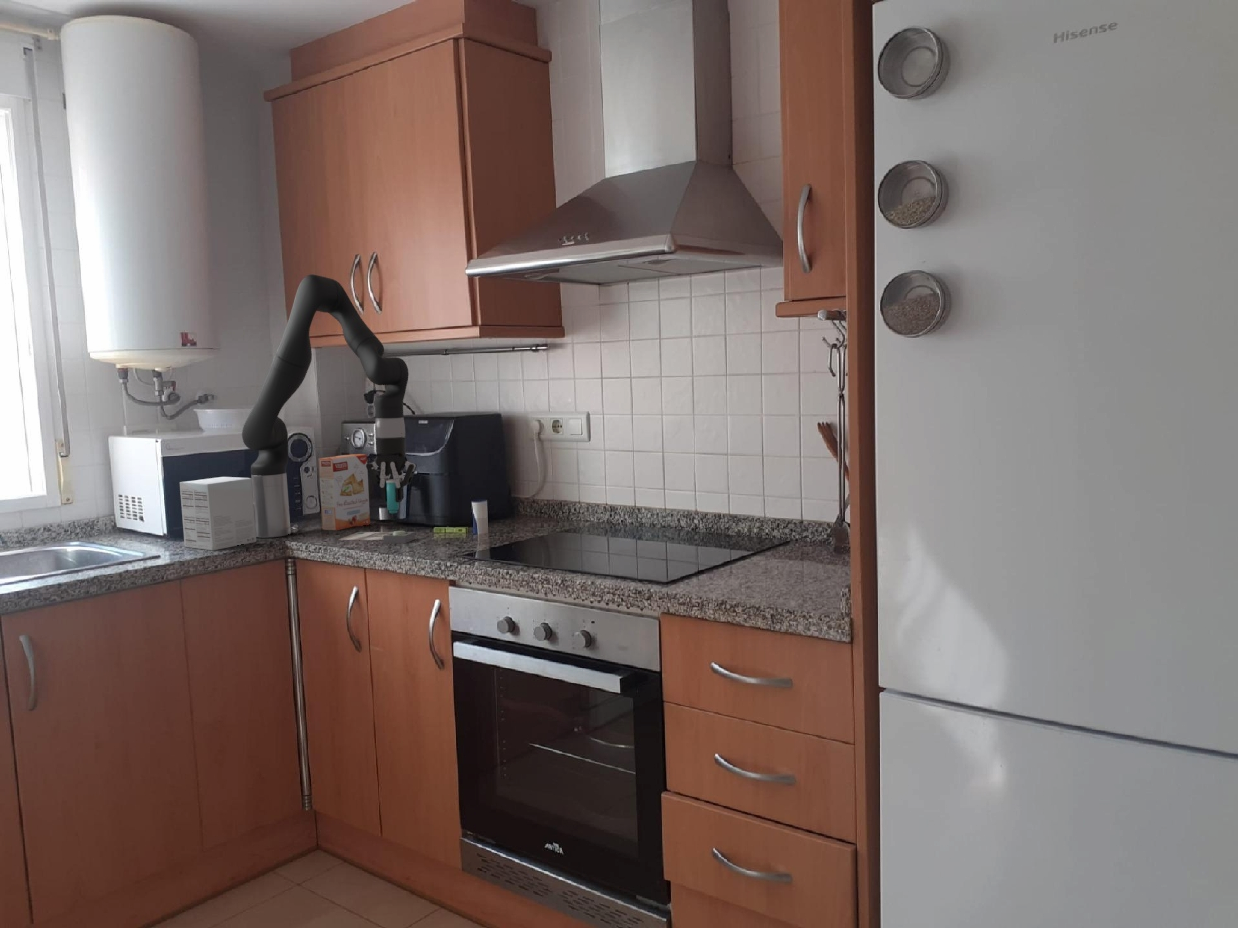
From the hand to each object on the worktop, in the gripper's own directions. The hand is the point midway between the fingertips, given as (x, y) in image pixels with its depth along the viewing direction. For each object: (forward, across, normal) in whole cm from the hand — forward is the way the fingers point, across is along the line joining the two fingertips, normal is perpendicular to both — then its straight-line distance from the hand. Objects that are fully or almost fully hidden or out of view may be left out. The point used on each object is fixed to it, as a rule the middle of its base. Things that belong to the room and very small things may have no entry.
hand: (392, 501), depth 254 cm
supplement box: (+12, -48, -5) cm, 50 cm away
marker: (+3, 0, 0) cm, 3 cm away
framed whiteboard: (+11, -9, +5) cm, 15 cm away
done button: (+11, +2, -2) cm, 11 cm away
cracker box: (+12, -25, +22) cm, 35 cm away
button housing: (+11, +2, -2) cm, 11 cm away
